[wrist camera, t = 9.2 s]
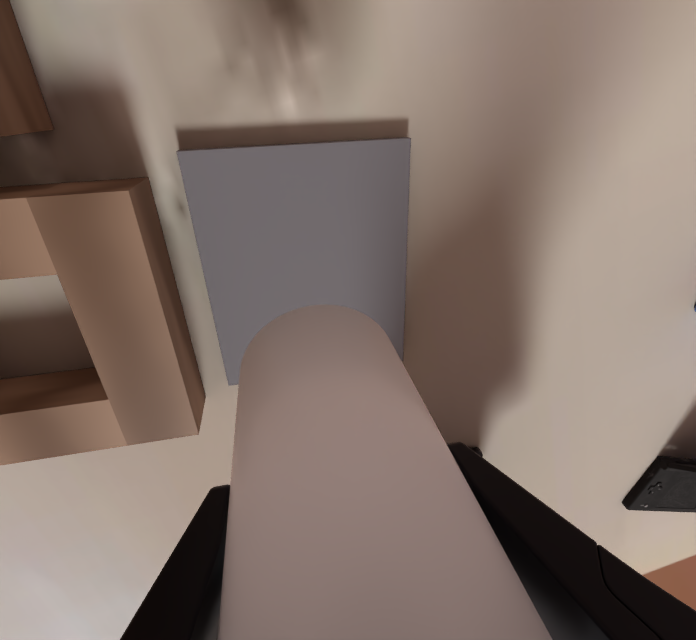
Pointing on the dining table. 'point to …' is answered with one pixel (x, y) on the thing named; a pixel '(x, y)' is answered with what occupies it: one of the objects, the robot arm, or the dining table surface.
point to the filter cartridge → (353, 501)
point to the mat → (300, 233)
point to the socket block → (91, 299)
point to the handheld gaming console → (665, 487)
